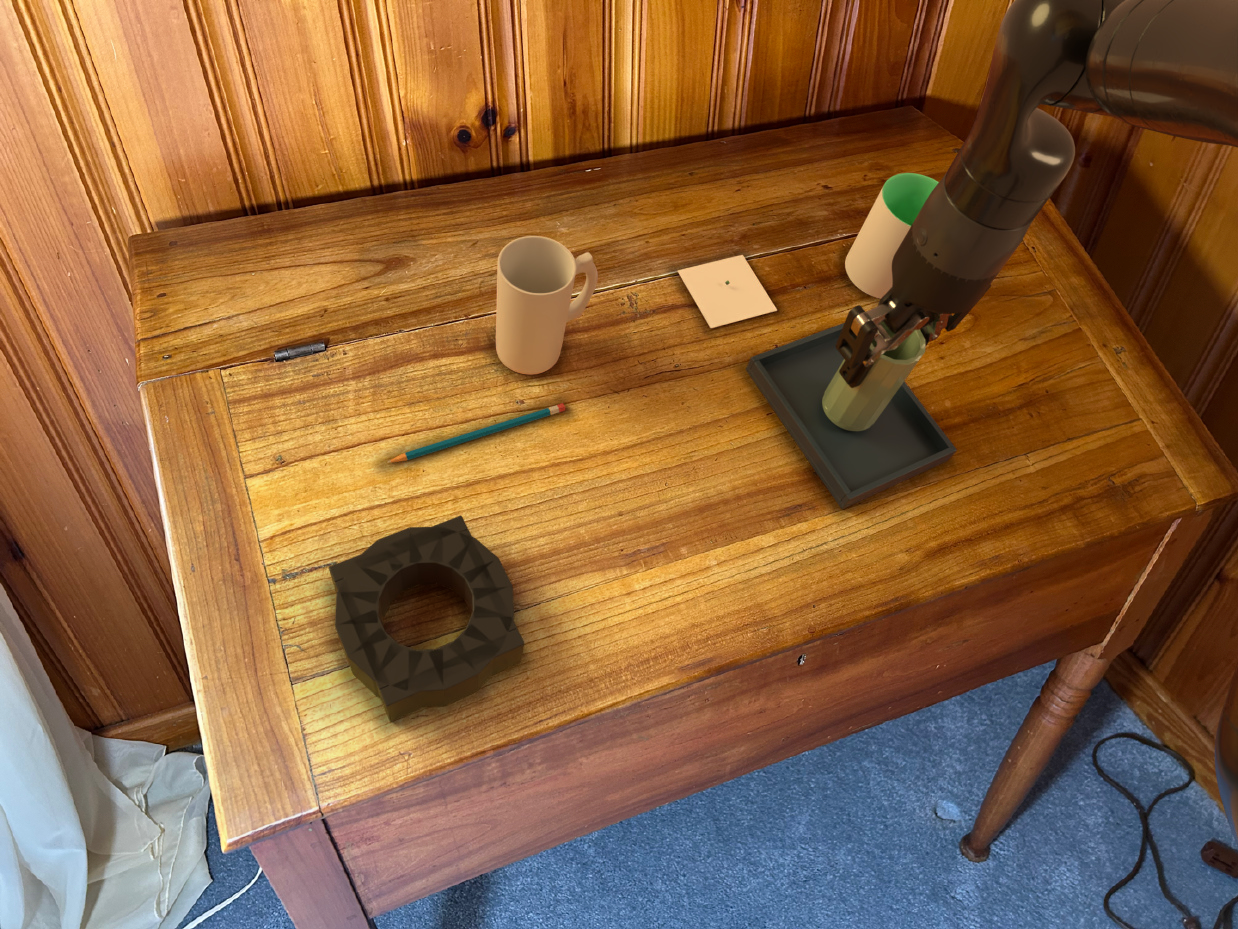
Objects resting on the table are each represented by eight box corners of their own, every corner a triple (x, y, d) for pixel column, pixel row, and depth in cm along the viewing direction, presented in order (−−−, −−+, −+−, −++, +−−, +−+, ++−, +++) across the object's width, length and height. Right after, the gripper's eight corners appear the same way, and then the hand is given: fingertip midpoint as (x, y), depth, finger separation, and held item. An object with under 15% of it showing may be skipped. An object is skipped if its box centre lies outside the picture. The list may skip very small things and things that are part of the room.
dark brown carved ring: (538, 663, 74) (542, 644, 70) (378, 737, 69) (374, 722, 66) (470, 527, 79) (471, 502, 75) (318, 587, 75) (310, 565, 71)
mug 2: (917, 230, 106) (959, 159, 97) (956, 281, 103) (1004, 213, 94) (831, 252, 102) (867, 181, 93) (869, 307, 99) (910, 238, 90)
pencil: (565, 412, 87) (565, 408, 86) (388, 468, 81) (387, 464, 80) (561, 405, 87) (562, 401, 86) (385, 460, 81) (384, 456, 81)
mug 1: (512, 387, 87) (519, 305, 77) (480, 335, 89) (483, 248, 79) (604, 352, 91) (622, 269, 80) (571, 302, 93) (585, 216, 83)
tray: (947, 461, 90) (957, 450, 88) (841, 509, 86) (849, 499, 84) (848, 330, 97) (855, 318, 95) (745, 369, 92) (750, 357, 90)
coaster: (710, 328, 94) (712, 323, 93) (677, 270, 97) (678, 265, 97) (777, 310, 97) (779, 305, 96) (742, 254, 100) (744, 249, 99)
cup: (888, 420, 90) (938, 352, 81) (842, 439, 88) (888, 372, 79) (856, 376, 92) (901, 305, 83) (810, 394, 90) (851, 323, 81)
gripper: (918, 301, 66) (836, 426, 81) (1059, 249, 71) (958, 375, 86) (859, 228, 69) (790, 361, 83) (999, 182, 74) (911, 316, 89)
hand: (876, 368), depth 84 cm, fingers closed on cup, 5 cm apart
